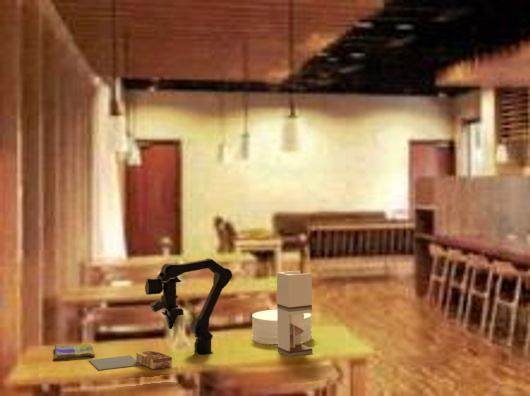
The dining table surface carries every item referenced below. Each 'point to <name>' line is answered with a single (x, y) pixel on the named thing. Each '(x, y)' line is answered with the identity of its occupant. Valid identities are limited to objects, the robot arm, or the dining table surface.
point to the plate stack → (274, 327)
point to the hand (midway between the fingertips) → (170, 329)
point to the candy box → (154, 359)
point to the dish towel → (74, 352)
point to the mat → (114, 362)
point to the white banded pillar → (293, 310)
